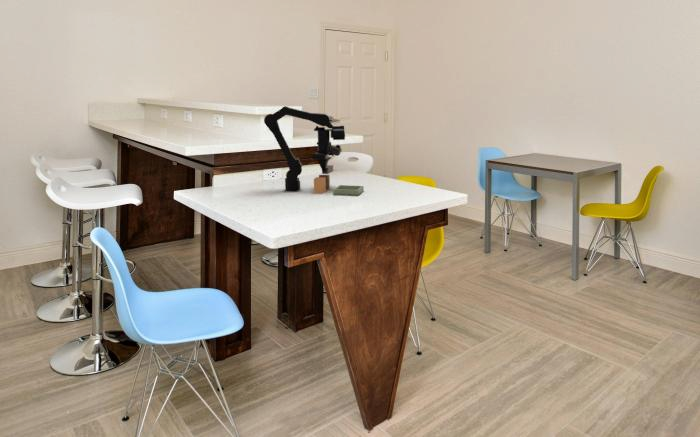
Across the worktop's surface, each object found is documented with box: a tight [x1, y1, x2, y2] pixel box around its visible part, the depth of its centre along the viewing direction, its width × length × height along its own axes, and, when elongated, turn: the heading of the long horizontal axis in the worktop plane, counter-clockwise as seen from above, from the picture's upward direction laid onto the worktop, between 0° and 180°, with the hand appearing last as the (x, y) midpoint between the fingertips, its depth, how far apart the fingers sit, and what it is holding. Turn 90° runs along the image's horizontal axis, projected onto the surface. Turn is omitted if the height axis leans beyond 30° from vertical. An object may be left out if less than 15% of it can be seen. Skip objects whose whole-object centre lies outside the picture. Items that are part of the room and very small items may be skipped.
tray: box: [332, 184, 364, 197], centre depth 253 cm, size 12×12×3 cm
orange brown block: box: [313, 176, 327, 194], centre depth 255 cm, size 4×5×7 cm
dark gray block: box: [321, 164, 334, 175], centre depth 267 cm, size 3×10×3 cm, turn 167°
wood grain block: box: [318, 174, 331, 191], centre depth 262 cm, size 5×2×7 cm, turn 77°
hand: (324, 172), depth 261 cm, fingers closed
